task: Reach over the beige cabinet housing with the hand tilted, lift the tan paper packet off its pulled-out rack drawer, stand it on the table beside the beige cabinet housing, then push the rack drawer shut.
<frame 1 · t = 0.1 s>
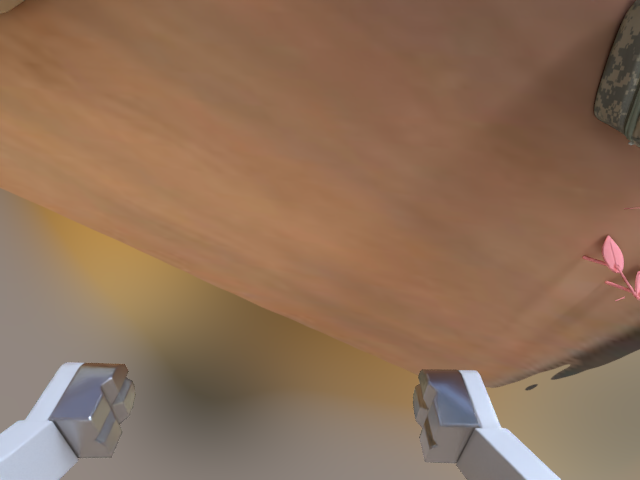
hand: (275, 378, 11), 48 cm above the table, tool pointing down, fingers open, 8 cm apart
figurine: (631, 247, 68), on the table
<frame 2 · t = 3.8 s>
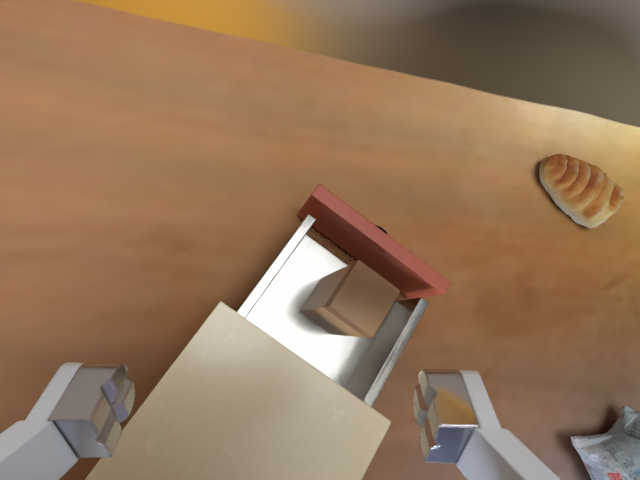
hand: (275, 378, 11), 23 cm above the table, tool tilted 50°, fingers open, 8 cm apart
pastry: (568, 194, 45), on the table
rack drawer: (338, 294, 32), point 4 cm above the table, slide at 10.5 cm, touching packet
packaged food: (605, 475, 39), on the table
beige cabinet housing: (241, 427, 31), on the table
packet: (326, 305, 33), point 2 cm above the table, touching rack drawer
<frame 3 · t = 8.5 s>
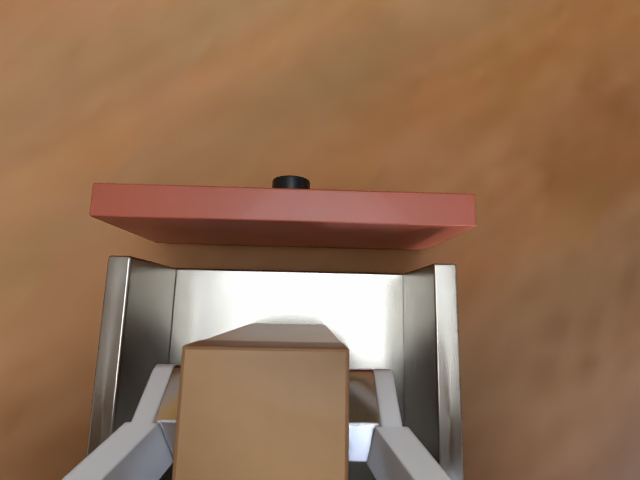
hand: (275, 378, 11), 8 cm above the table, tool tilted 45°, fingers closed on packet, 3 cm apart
rack drawer: (285, 345, 15), point 4 cm above the table, slide at 10.5 cm, touching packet
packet: (287, 365, 17), point 2 cm above the table, touching gripper, rack drawer
when the fingers open (6 cm above the table, at t = 17.2 s): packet stays where it is, on the table.
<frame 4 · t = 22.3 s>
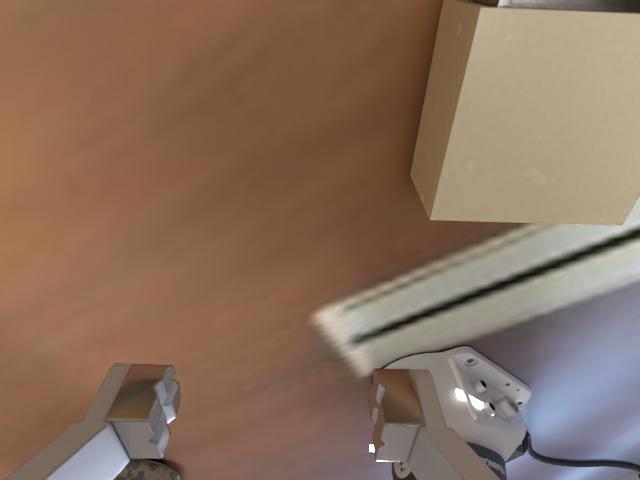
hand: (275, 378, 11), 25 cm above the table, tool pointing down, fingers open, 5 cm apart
beige cabinet housing: (514, 101, 31), on the table
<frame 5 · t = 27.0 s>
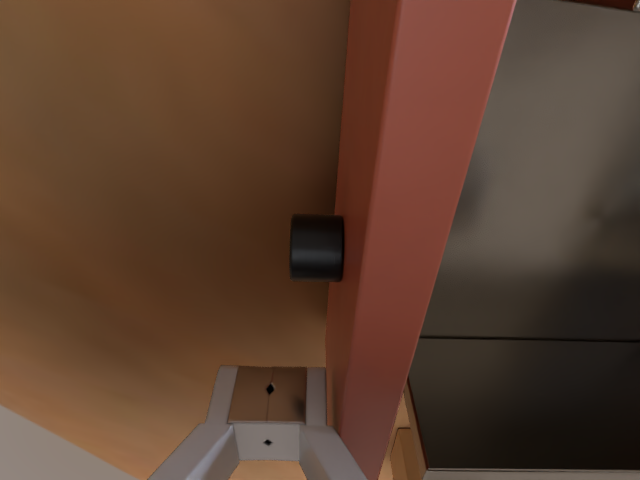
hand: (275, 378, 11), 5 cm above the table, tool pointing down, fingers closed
rack drawer: (572, 255, 9), point 4 cm above the table, slide at 10.3 cm, touching gripper
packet: (424, 443, 22), on the table
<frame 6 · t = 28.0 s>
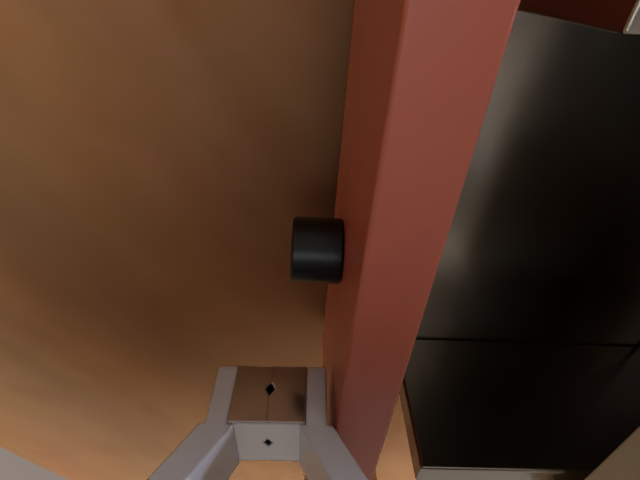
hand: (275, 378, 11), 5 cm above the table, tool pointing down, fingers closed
rack drawer: (565, 260, 10), point 4 cm above the table, slide at 5.4 cm, touching gripper
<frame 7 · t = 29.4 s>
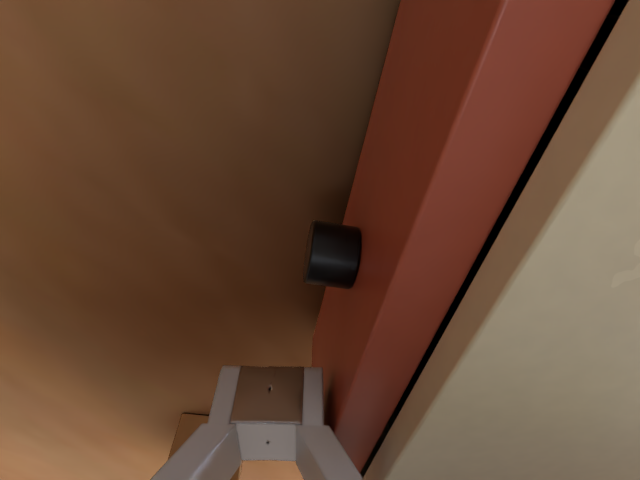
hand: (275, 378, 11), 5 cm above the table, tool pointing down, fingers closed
rack drawer: (558, 288, 10), point 4 cm above the table, slide at 0.0 cm, touching gripper, beige cabinet housing
beige cabinet housing: (565, 224, 14), on the table
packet: (214, 431, 22), on the table
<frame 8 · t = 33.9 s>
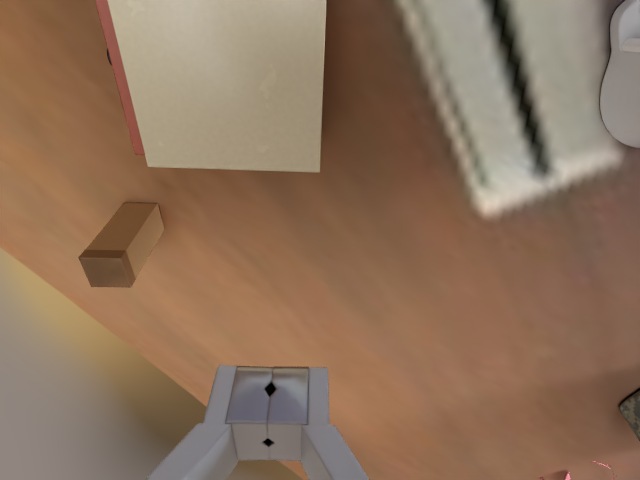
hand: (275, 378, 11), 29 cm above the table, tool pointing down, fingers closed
rack drawer: (203, 59, 29), point 4 cm above the table, slide at 0.0 cm
beige cabinet housing: (242, 51, 32), on the table
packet: (144, 216, 42), on the table
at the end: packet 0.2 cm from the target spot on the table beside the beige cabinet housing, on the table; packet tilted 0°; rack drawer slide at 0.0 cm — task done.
